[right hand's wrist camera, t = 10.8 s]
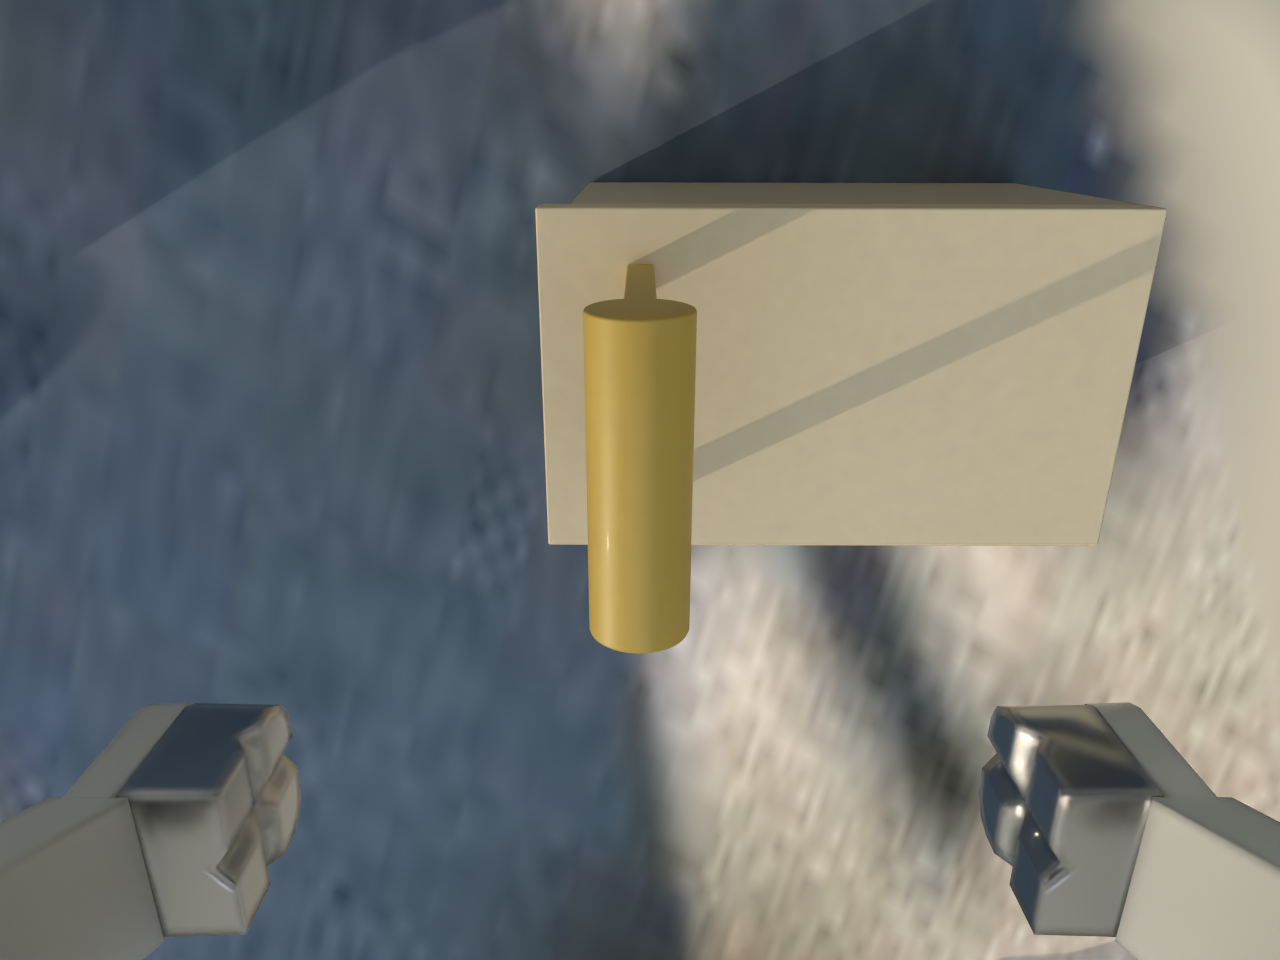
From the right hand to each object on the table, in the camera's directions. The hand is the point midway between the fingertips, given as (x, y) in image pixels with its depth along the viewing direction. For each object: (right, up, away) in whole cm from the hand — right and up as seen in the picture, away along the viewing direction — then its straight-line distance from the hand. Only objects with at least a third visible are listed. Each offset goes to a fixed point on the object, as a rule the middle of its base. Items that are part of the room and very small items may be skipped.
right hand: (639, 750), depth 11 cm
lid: (+5, +6, +15) cm, 17 cm away
